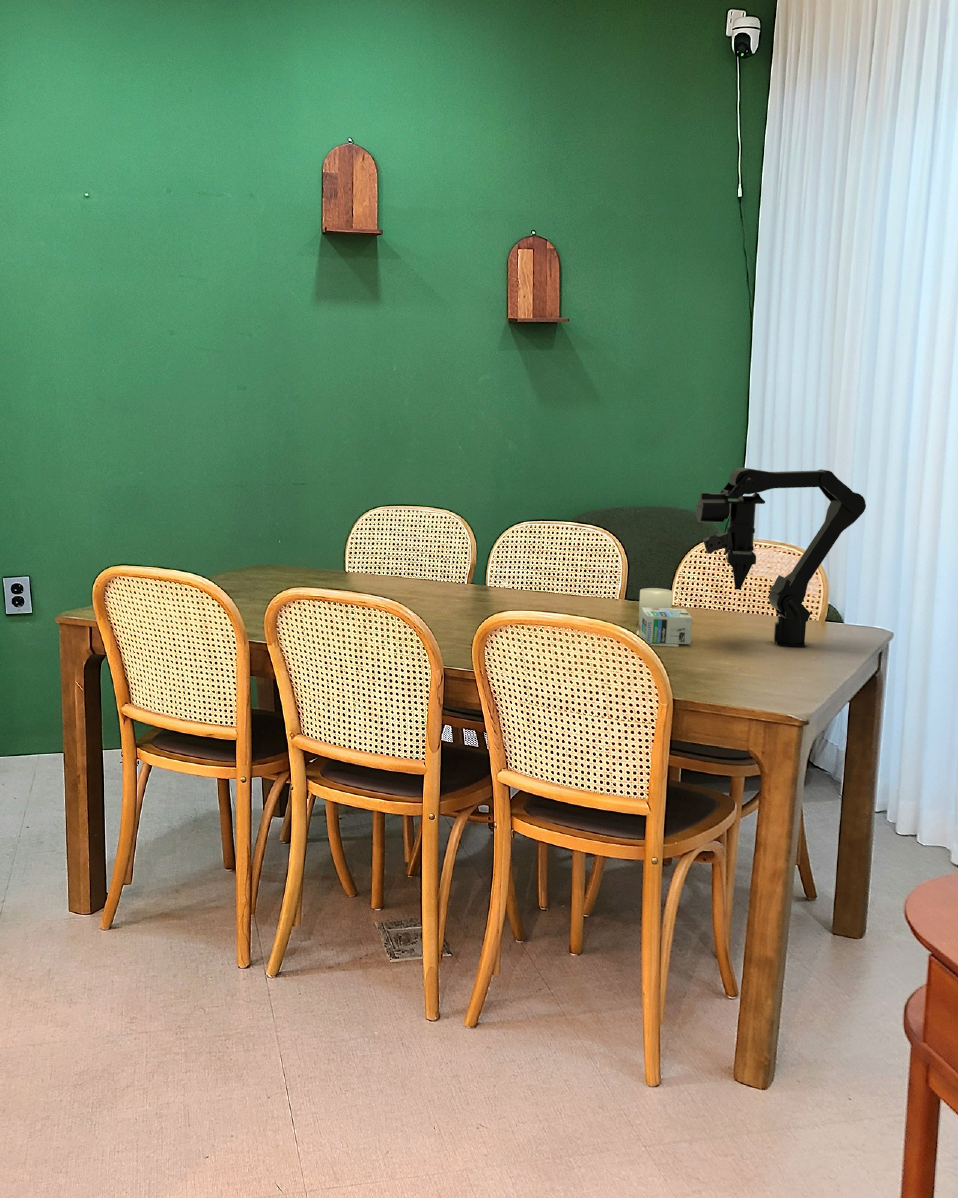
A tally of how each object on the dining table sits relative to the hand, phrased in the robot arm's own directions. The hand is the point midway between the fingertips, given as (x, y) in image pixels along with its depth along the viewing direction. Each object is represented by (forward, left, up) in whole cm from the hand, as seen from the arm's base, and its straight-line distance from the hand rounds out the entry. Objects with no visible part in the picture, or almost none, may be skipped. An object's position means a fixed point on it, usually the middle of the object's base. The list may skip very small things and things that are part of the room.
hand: (737, 589), depth 256 cm
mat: (+18, 0, -13) cm, 22 cm away
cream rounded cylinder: (+19, -16, -13) cm, 28 cm away
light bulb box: (+11, +1, -9) cm, 14 cm away
